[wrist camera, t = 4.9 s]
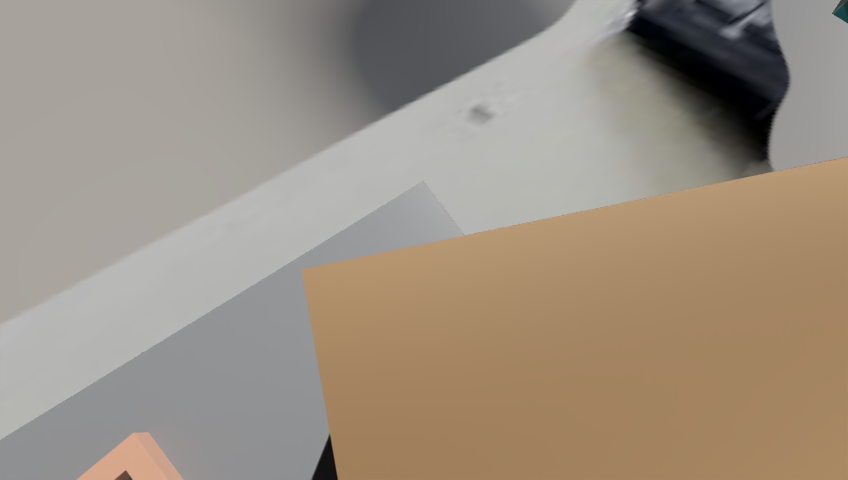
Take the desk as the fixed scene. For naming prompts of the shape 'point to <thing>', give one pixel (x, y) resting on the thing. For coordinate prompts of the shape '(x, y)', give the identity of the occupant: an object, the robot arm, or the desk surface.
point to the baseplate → (224, 376)
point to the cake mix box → (842, 10)
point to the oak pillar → (601, 342)
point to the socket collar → (134, 462)
